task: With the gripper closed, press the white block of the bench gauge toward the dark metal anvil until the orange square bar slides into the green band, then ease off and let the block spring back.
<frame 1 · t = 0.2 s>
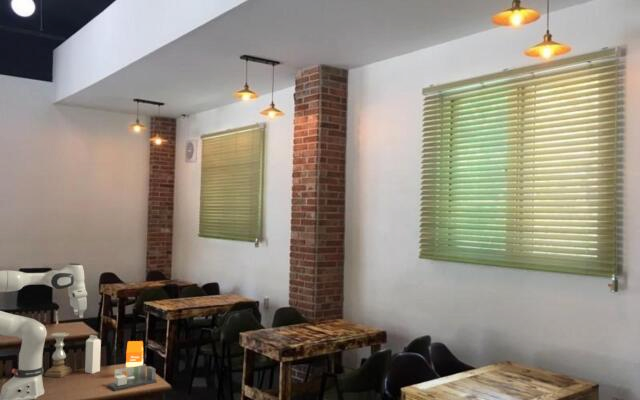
hand: (78, 316, 302), 39 cm above the table, tool pointing down, fingers open, 8 cm apart
orange juice: (134, 375, 323), on the table
candle holder: (58, 374, 321), on the table
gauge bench: (131, 384, 305), on the table
milk: (92, 371, 328), on the table
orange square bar: (126, 376, 306), point 4 cm above the table, slide at 0.0 cm
white block: (124, 378, 303), point 4 cm above the table, slide at 0.0 cm
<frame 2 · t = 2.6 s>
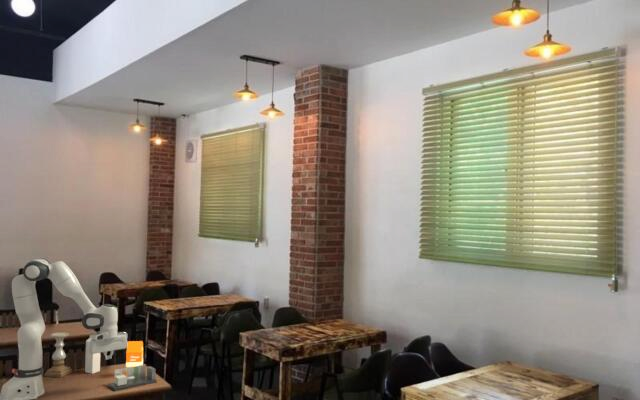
hand: (108, 359, 296), 17 cm above the table, tool pointing down, fingers closed
nothing on the table moved.
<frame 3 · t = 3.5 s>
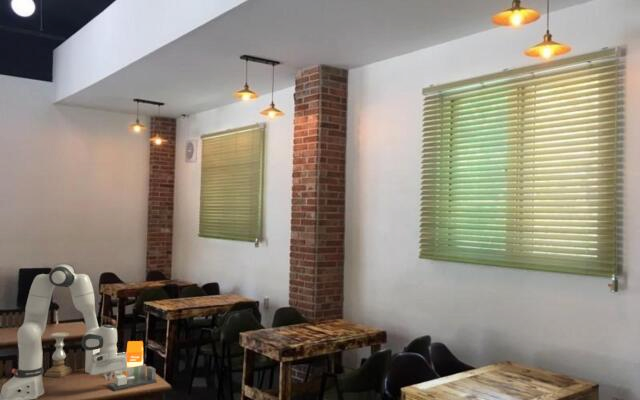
hand: (108, 379, 296), 5 cm above the table, tool pointing down, fingers closed
nothing on the table moved.
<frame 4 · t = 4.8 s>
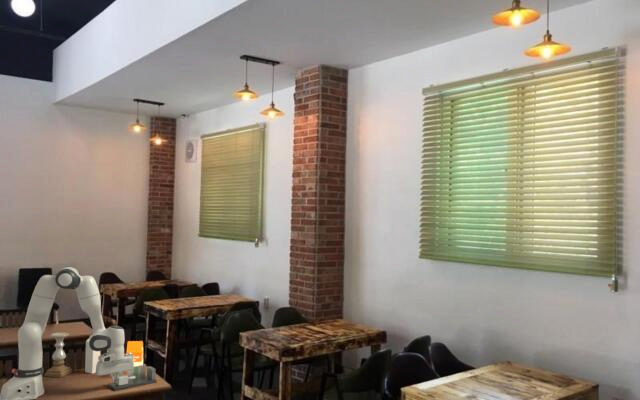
hand: (114, 380, 299), 4 cm above the table, tool pointing down, fingers closed
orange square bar: (126, 376, 306), point 4 cm above the table, slide at 0.2 cm, touching white block
white block: (125, 378, 304), point 4 cm above the table, slide at 0.6 cm, touching gripper, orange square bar
everything else where it was.
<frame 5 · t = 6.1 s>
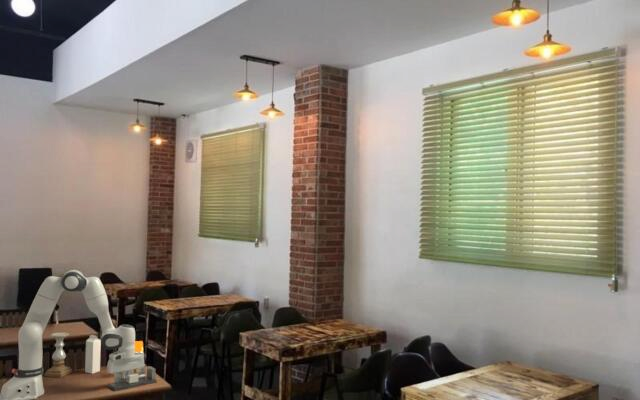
hand: (125, 378, 303), 4 cm above the table, tool pointing down, fingers closed
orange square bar: (136, 374, 310), point 4 cm above the table, slide at 6.1 cm, touching white block
white block: (135, 376, 307), point 4 cm above the table, slide at 6.5 cm, touching gripper, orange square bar
everything else where it was.
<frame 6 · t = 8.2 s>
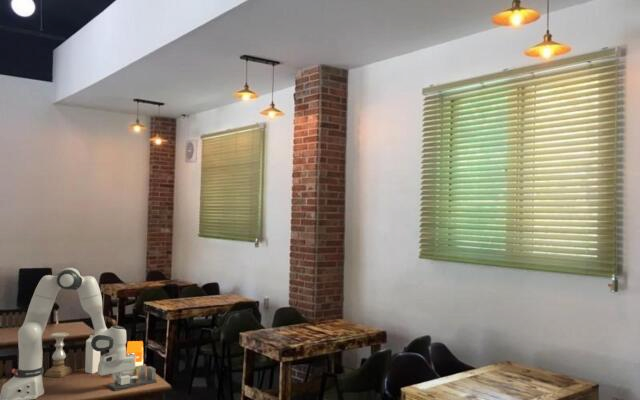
hand: (116, 380, 299), 4 cm above the table, tool pointing down, fingers closed
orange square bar: (137, 374, 310), point 4 cm above the table, slide at 6.3 cm
white block: (127, 378, 304), point 4 cm above the table, slide at 1.7 cm, touching gripper
everything else where it was.
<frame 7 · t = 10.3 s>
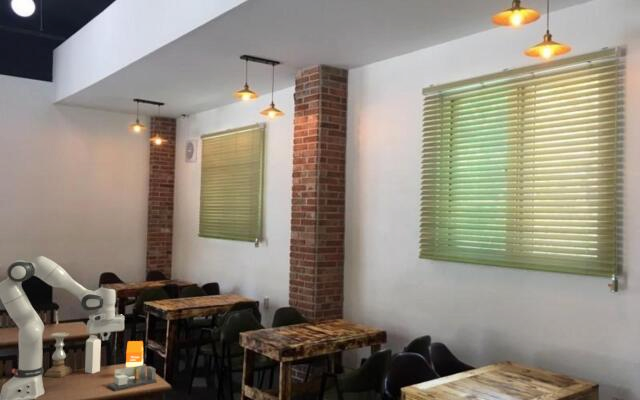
hand: (104, 340, 303), 25 cm above the table, tool pointing down, fingers closed
white block: (125, 378, 303), point 4 cm above the table, slide at 0.3 cm
everything else where it was.
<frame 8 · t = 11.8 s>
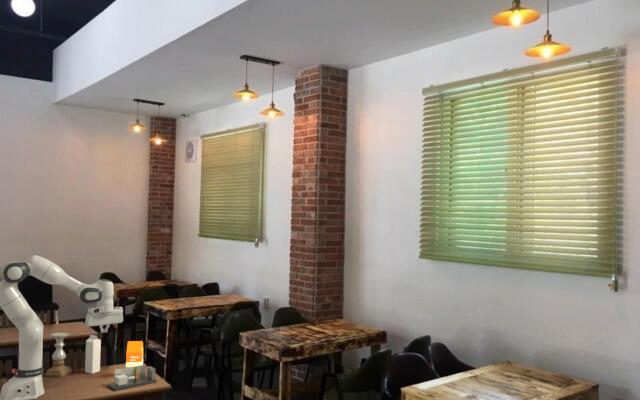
hand: (104, 332, 306), 29 cm above the table, tool pointing down, fingers closed
nothing on the table moved.
at the end: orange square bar slide at 6.3 cm; white block slide at 0.3 cm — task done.
